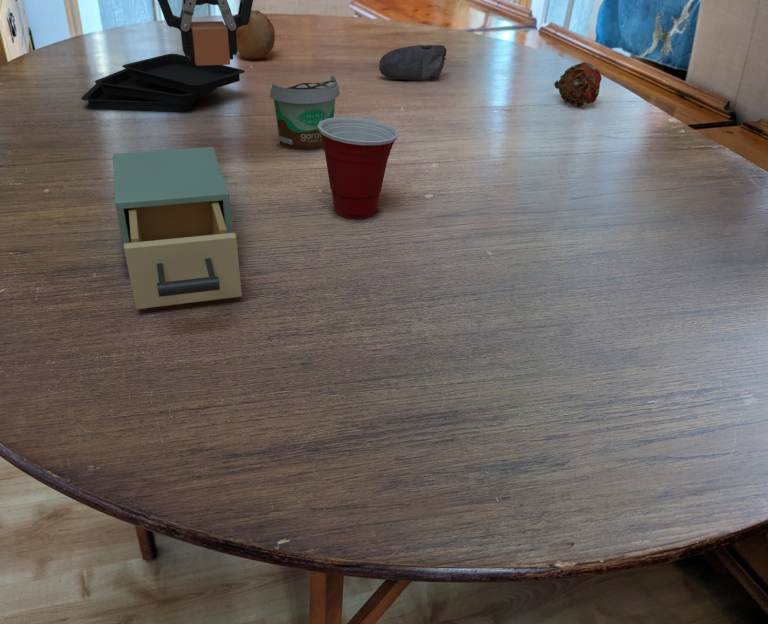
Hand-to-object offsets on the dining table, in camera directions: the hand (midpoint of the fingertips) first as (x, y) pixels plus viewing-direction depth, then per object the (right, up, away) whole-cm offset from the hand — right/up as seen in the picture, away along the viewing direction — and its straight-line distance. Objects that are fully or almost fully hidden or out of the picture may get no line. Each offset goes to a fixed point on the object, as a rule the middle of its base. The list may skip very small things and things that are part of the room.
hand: (210, 58), depth 101 cm
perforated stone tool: (+30, +20, +57) cm, 68 cm away
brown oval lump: (-6, +29, +66) cm, 72 cm away
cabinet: (-2, -27, -7) cm, 28 cm away
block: (0, 0, 0) cm, 0 cm away
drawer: (+1, -34, -18) cm, 38 cm away
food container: (+12, -5, +22) cm, 26 cm away
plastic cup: (+20, -21, +2) cm, 29 cm away
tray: (-18, +10, +41) cm, 45 cm away
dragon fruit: (+63, +12, +48) cm, 80 cm away
